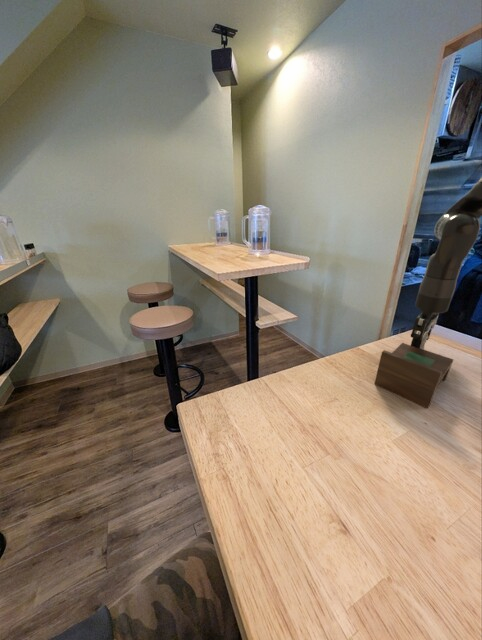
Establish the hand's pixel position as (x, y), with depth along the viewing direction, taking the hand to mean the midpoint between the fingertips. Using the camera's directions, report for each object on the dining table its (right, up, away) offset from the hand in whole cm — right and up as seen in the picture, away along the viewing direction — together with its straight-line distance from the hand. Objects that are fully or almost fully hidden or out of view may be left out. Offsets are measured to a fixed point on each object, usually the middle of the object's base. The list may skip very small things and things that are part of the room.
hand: (419, 343), depth 75 cm
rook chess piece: (0, -4, +2) cm, 5 cm away
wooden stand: (-8, -9, -8) cm, 15 cm away
